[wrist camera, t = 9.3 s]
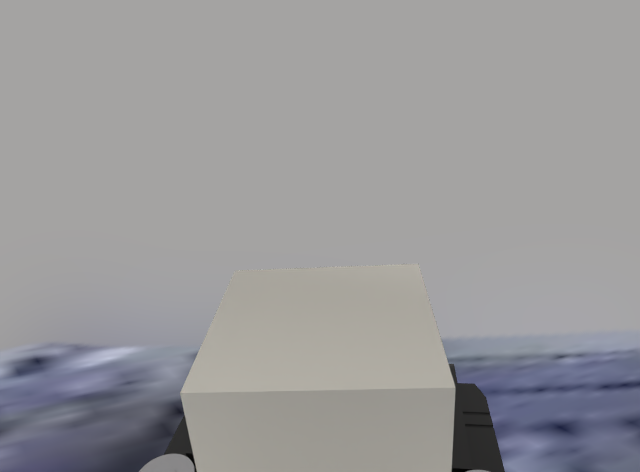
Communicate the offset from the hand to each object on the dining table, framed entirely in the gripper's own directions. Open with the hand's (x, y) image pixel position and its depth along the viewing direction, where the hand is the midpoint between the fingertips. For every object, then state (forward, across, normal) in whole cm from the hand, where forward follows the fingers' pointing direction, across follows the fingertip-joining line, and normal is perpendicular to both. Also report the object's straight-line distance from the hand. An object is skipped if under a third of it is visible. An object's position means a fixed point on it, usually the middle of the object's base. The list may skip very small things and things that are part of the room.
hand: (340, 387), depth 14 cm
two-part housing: (-3, 0, +6) cm, 7 cm away
